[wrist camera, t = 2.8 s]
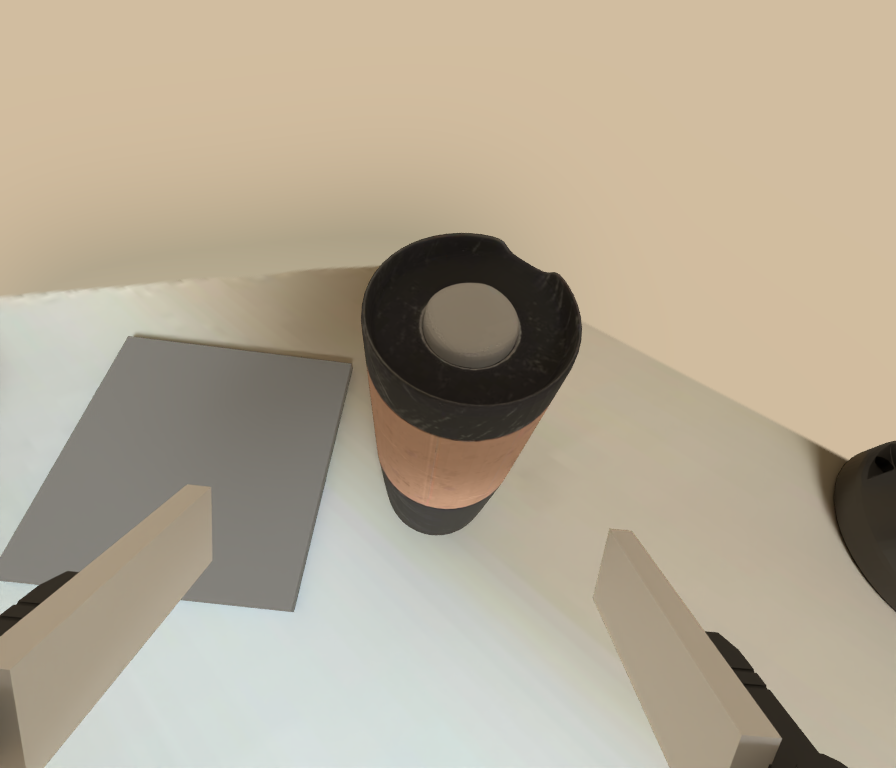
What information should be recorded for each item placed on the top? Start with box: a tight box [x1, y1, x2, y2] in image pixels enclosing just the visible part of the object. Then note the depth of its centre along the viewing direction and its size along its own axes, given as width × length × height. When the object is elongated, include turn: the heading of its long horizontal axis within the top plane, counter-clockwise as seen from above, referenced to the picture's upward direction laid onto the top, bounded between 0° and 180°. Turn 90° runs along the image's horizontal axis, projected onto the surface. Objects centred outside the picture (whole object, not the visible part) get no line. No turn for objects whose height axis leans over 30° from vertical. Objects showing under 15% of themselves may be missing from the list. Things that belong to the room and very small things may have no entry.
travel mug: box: [361, 233, 582, 535], centre depth 23 cm, size 8×8×20 cm
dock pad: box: [0, 336, 352, 612], centre depth 31 cm, size 18×18×1 cm
